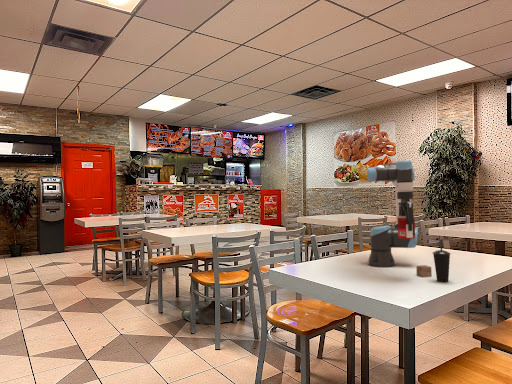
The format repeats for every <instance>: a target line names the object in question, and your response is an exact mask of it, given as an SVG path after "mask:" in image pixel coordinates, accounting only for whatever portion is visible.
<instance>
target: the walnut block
mask: <svg viewBox="0 0 512 384" xmlns="http://www.w3.org/2000/svg"><path fill="white" fill-rule="evenodd" d="M432 273H433V272H432V266H430V265H427V264H423V265H422V264H421V265H416V276H417V275H418V276H417V277H421V278H431V277H432Z"/></svg>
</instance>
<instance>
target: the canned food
mask: <svg viewBox="0 0 512 384" xmlns="http://www.w3.org/2000/svg"><path fill="white" fill-rule="evenodd" d="M397 218H398V237H399V238H401V239H414V238H415V228H416V223H415V222H416V218H415V216H414V223H413V224H412V229H413V238H407V234H406V223H407V221H406V216H398V217H396V219H397Z"/></svg>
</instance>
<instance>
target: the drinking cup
mask: <svg viewBox="0 0 512 384" xmlns="http://www.w3.org/2000/svg"><path fill="white" fill-rule="evenodd" d="M439 242H440V243H439V245H440V246H439V247H440V249H437V250H435V251H432V256H433V261H434V262H433V263H434V268H435V275H436V281H437V282H438V283H449V276H450V275H449V274H450V259H451V252H449V251H447V250H444V249H443V240H442V239H440V240H439Z"/></svg>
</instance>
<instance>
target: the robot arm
mask: <svg viewBox="0 0 512 384" xmlns="http://www.w3.org/2000/svg"><path fill="white" fill-rule="evenodd" d="M366 175H367V177H366V179H367V181H368V182H384V183H385V182H386V183H387V182H388V183H389V182H390V183H391V182H392V186H394V188H395V189H394V190H395V193H394V195H395V212H396V217H395V218H396V222H395V224H394V225H393V227H391V226H390V225H380V226H375V227H372V228H371V229H370V235H369V236H370V254H369V257H368V262H367V263H368V265H369V266H371V265H372V266H371V267H379V268H390V267H394V266H395V265H396V262H395V258H394V256H393V254H392V249H393V248H397V249H398V248H399V249H414V248H416V247H417V244H418V237H419V236H418V234H419V228H418V227H415V238H414V239H401V238H399V237H398V218H397V217H398V216H406V221H407V223H406V234H407V238H413V229H412V224H413V223H414V217H415V215H414V202H412V200H413V199H414V192H413V191H414V182H413V181H415V179H416V176H415V170H414V166H413V162H412V160H410V159H409V160H408V159H406V160H398V161H396V162H395V163H394V162H393V163H382V164H379V165H376V166H374V167H368V168H367V170H366Z"/></svg>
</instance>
